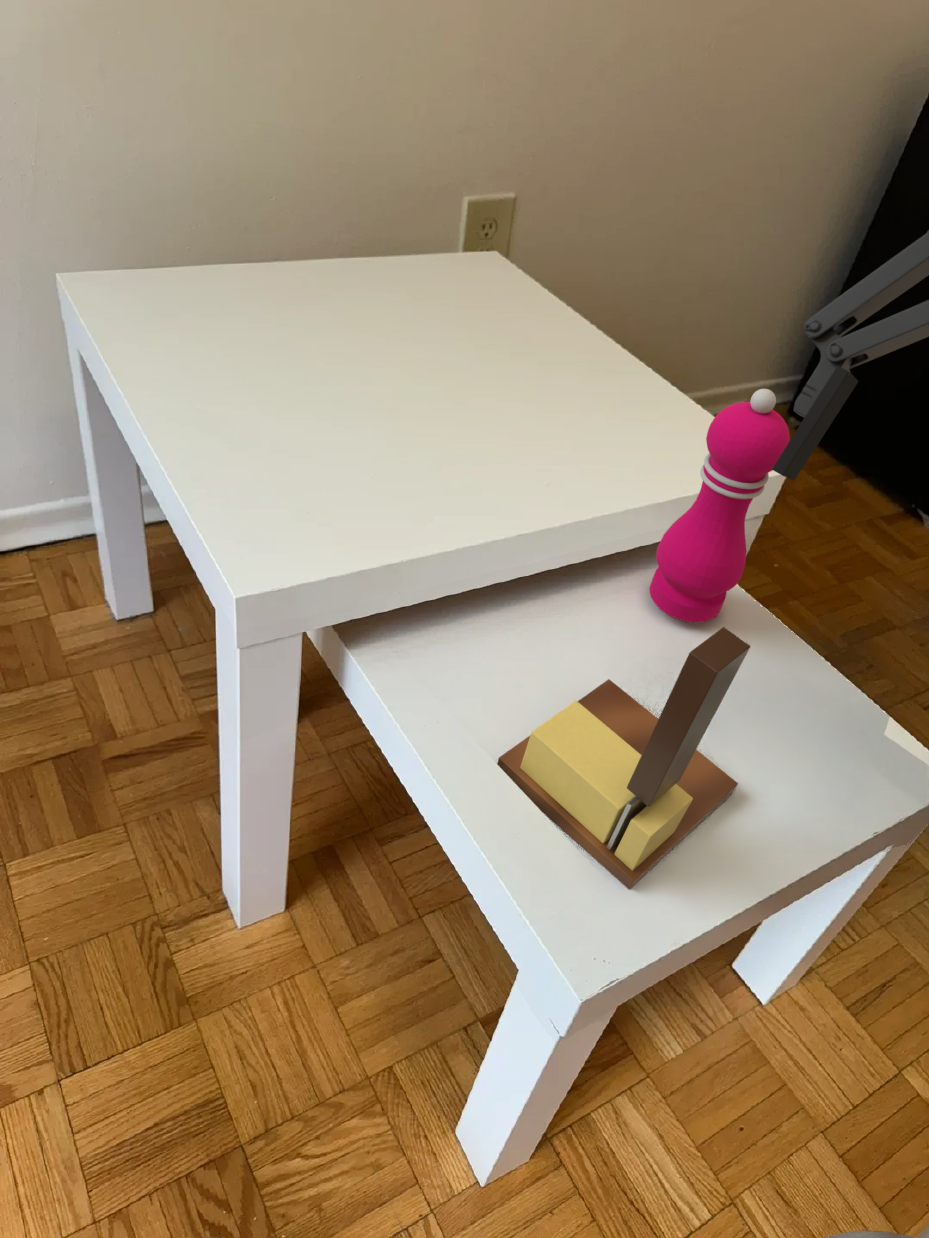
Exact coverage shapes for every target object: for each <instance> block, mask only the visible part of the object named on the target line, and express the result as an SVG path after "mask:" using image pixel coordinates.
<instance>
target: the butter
mask: <svg viewBox="0 0 929 1238" xmlns="http://www.w3.org/2000/svg"><path fill="white" fill-rule="evenodd" d="M577 701H578V700H574V701H573V702H571V703H570V704H568V705H567V706H566V707H564V708H563V709H561V710H559V712H558V713H557V712H556V714H555V715H553V716H552V717H550V718H549V719H548V720H546V721H545V722H543V723H542V724H540V725H538V726H537V727H536V728H535V729H533V730H532V731H531V733H530V734H529V736H530V739H529V742H528V745H527V748H526V751H525V754H524V757H523V760H522V763H521V767H520V768H521V769H522V770H523V771H524V772H525V773H526V774H527V775H528V776H529V777H531V778H532V779H533V780H534V781H535V782H536V783H537V784H538V785H539V786H540V787H541V788H543V789H544V790H545V791H546V792H547V793H548V794H549V795H550V796H551V797H552V798H554V799H555V800H556V801H557V802H558V803H559V804H560V805H561V806H562V807H563V808H564V809H566V810H567V811H568V812H569V813H570V814H571V815H572V816H573V817H574V818H575V819H576V820H578V821H579V822H580V823H581V824H582V825H583V826H584V827H585V828H586V829H587V830H589V831H590V832H591V833H592V834H593V835H594V836H595V837H596V838H597V839H598V840H599V841H601V842H602V843H603V844H604V843H605V842H606V841H607V840H609V839H610V838H611V837H612V834H613V832H614V830H615V828H616V826H617V824H618V822H619V820H620V818H621V816H622V814H623V811H624V809H625V807H626V805H627V803H628V802H629V801H631V800H632V799H633V798H634V797H635V795H634V794H633V793H632V792H631V791H629V790H628V789H627V785H628V783H629V781H630V779H631V777H632V775H633V773H634V770H635V768H636V766H637V764H638V762H639V760H640V758H641V754H640V753H638V752H637V751H636V750H635V749H634V748H632V747H631V746H630V745H629V744H628V743H626V742H625V741H624V740H623V739H622V738H620V737H619V736H618V735H617V734H616V733H614V732H613V731H612V730H611V729H610V728H609V727H607V726H606V725H605V724H604V723H603V722H601V721H600V720H599V719H598V718H597V717H595V716H594V715H593V714H592V713H591V712H589V711H588V710H587V709H586V708H585V707H583V706H582V705H581V704H580V703H579V702H577ZM692 800H693V798H692V797H691V796H690V795H689V794H688V793H686V792H685V791H684V790H683V789H682V788H680V787H679V786H678V785H677V784H675V785H674V786H673V787H672V788H670V789H669V790H668V791H667V792H666V793H665V794H664V795H662V796H661V797H660V798H659V799H658V800H657V801H656V802H655V803H653V804H652V805H651V806H650V807H648V806H646V807H645V808H644V809H643V810H642V811H641V812H640V813H638V814H637V815H636V816H635V817H634V818H633V819H631V821H630V823H629V825H628V827H627V829H626V831H625V833H624V835H623V837H622V839H621V841H620V844H619V846H618V848H617V850H616V852H615V856H617V857H618V858H619V859H620V860H621V861H622V862H623V863H624V864H625V865H626V866H628V867H629V868H630V869H631V870H632V871H633V870H634V869H635V868H636V867H637V866H639V865H640V864H641V863H642V862H643V861H644V860H645V859H646V858H647V857H648V856H649V855H650V854H652V853H653V852H654V851H655V850H656V849H657V848H658V847H659V846H660V845H661V844H662V843H663V842H665V841H666V840H667V839H668V838H669V837H670V836H671V835H672V834H673V833H674V832H675V830H676V828H677V826H678V825H679V823H680V821H681V819H682V818H683V816H684V814H685V812H686V810H687V809H688V807H689V805H690V803H691V802H692Z"/></svg>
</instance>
